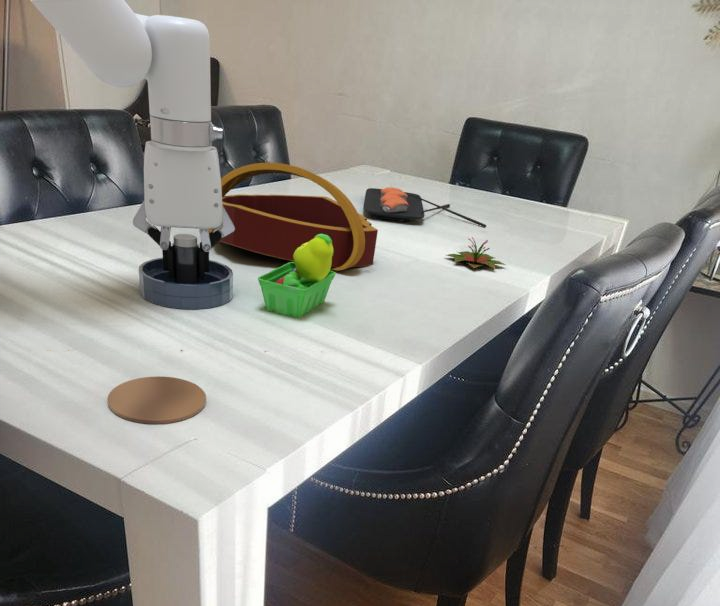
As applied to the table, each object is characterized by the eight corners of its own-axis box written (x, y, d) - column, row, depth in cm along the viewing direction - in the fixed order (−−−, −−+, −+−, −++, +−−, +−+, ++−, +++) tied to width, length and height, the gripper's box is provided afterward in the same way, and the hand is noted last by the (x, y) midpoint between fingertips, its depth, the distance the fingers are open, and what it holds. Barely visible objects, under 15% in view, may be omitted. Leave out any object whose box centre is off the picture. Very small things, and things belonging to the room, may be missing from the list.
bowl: (139, 312, 88) (137, 283, 86) (142, 281, 98) (140, 254, 96) (236, 314, 92) (236, 286, 89) (228, 284, 102) (228, 258, 100)
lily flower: (472, 274, 122) (477, 250, 119) (432, 256, 129) (436, 232, 127) (517, 270, 128) (523, 246, 125) (476, 252, 135) (481, 230, 133)
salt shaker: (174, 297, 93) (172, 239, 88) (174, 288, 96) (171, 232, 91) (200, 297, 94) (199, 241, 89) (199, 289, 97) (197, 234, 92)
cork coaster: (104, 425, 64) (104, 421, 63) (110, 379, 71) (110, 376, 71) (208, 422, 66) (208, 419, 66) (203, 379, 74) (203, 376, 74)
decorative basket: (396, 273, 124) (413, 189, 118) (307, 279, 101) (321, 175, 94) (260, 234, 138) (269, 157, 132) (155, 232, 115) (158, 139, 108)
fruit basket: (290, 292, 102) (294, 217, 95) (341, 305, 99) (349, 229, 93) (254, 313, 93) (256, 232, 86) (310, 328, 90) (316, 245, 84)
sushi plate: (365, 194, 173) (367, 179, 171) (476, 209, 174) (479, 193, 172) (361, 218, 149) (363, 201, 147) (490, 235, 150) (493, 218, 148)
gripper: (243, 135, 88) (242, 270, 98) (114, 123, 84) (126, 266, 94) (249, 144, 82) (247, 287, 92) (110, 132, 78) (124, 283, 88)
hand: (186, 275), depth 93 cm, fingers closed on salt shaker, 3 cm apart
